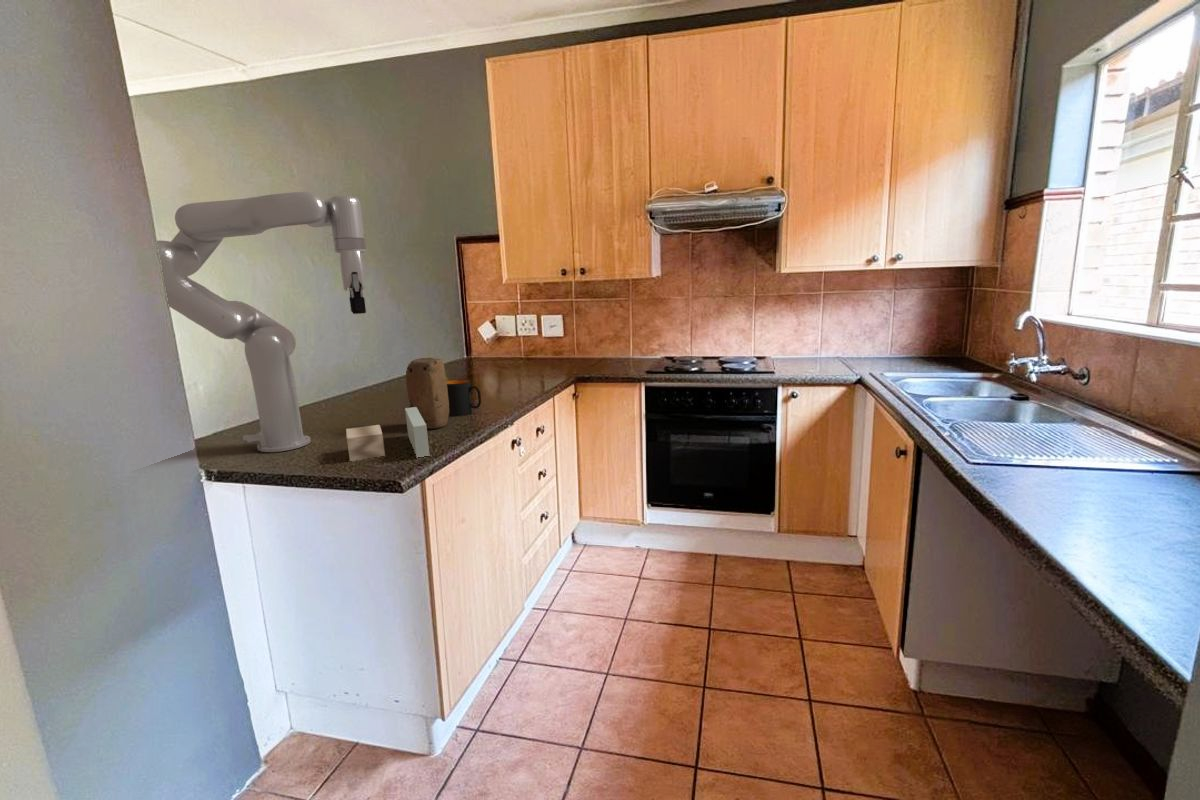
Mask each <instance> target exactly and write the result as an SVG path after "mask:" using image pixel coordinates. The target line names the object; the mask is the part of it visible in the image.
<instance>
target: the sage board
mask: <svg viewBox="0 0 1200 800" xmlns="http://www.w3.org/2000/svg"><path fill="white" fill-rule="evenodd" d="M404 410H405V411H404V412H405V419H406V420H405V421H406V428H407V437H408V438H409V442H410V444H412V445H411V447H412V449H414V450H413V452H414V455H415V454H416V455H415V457H416V459H419V458H418V457H424V456H430V455H431V454H430V446H429V437H428V428H427V426H426V423H425V422H424V420H423V418H422V416H421V414H420V413H419V411H418V409H417V407H412V408H410V407H405V408H404ZM424 458H425V457H424Z"/></svg>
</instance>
